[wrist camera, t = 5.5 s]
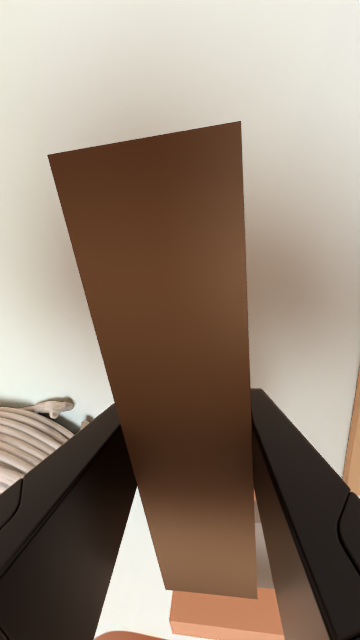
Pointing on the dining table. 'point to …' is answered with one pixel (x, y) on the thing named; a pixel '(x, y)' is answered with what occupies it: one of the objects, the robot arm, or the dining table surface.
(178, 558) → the brown wooden plank
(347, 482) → the board
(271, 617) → the tile
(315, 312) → the dining table surface
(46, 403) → the cable
